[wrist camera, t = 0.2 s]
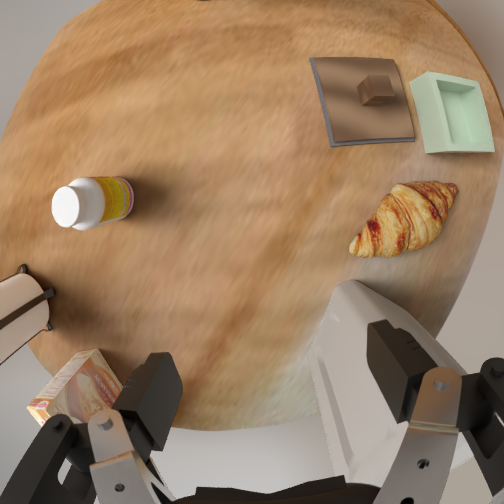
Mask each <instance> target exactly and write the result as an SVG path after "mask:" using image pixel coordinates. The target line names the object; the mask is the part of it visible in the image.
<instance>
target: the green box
mask: <svg viewBox="0 0 504 504" xmlns="http://www.w3.org/2000/svg"><path fill="white" fill-rule="evenodd" d="M409 85H410V88H411V92H412V95H413V99H414V103H415V107H416V111H417V115H418V119H419V123H420V128H421V133H422V138H423V143H424V149H425V154H429V153H484V152H495V149H494V143H493V138H492V132H491V128H490V123H489V118H488V114H487V110H486V106H485V102H484V99H483V95H482V92H481V88H480V85H479V82H477V81H474V80H469V79H465V78H461V77H456V76H451V75H446V74H441V73H435V72H428V71H427V72H425V73H424V74H422V75H420V76H419V77H417V78H415V79H414V80H412V81H410V82H409Z"/></svg>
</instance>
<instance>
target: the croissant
mask: <svg viewBox="0 0 504 504" xmlns="http://www.w3.org/2000/svg"><path fill="white" fill-rule="evenodd" d="M457 193H458V189H457V187H456V185H454V184H453V183H446V184H442V183H439V182H437V181H430V182H412V183H408V184H406V185H404V184H397V185H395V186H393V187H392V189H391V191H390V193H389V194H388V195H386V196H385V197H384V198H383V199H382V200H381V204H380V206H379V207H378V209H377V211H376V213H375V215H372V216H371V217H370V219H369V220H367V222H366V225H365V227H364V228H363V230H362V232H360V233H359V234H357V235H356V237H355V238H354V239H353V241H352V242H351V244H350V246H349V252H350V253H351V254H352V255H358V256H359V257H361V256H364V258H367V257H370V258H372V257H374V256H383V257H388V258H389V257H393V256H394V257H395V256H397V255H400V253H401V252H405V251H412V250H418V249H420V248H423V247H425V246H428V245H429V244H430V243H431V242H432V241H433V240H434V239H435V238H437V236H438V235H439V234H440V232H441V230H442V228H443V226H442V223H443V222H444V221H445V220H446V218H447V213H448V212H447V210H448V209H450V208H451V207H452V205H453V203H454V199H455V196H456V194H457Z"/></svg>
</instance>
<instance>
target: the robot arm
mask: <svg viewBox="0 0 504 504" xmlns="http://www.w3.org/2000/svg"><path fill="white" fill-rule="evenodd" d="M366 357H367V363H368V367H369V369H370V371H371V373H372V375H373V377H374V379H375V381H376V383H377V385H378V387H379V389H380V391H381V393H382V395H383V396H384V398H385V400H386V402H387V404H388V406H389V409H390V411H391V413H392V415H393V417H394V419H395V421H396V423H397V424H399V423H402V422H405V421H407V422H408V424H409V425H408V428H407V430H406V433H405V436H404V438H403V441H402V443H401V446H400V448H399V451H398V453H397V456H396V458H395V460H394V462H393V465H392V467H391V469H390V471H389V473H388V475H387V477H386V479H385V481H384V483H383V485H382V487H378V486H375V485H371V484H365V483H354V482H350V483H346V481H345V476H344V475H340V476H336V477H331V478H326V479H321V480H316V481H309V482H305V483H303V484H300V485H297V486H294V487H291V488H288V489H284V490H281V491H278V492H274V493H271V494H264V493H258V492H251V491H245V490H240V489H234V488H214V487H197V488H196V493H195V495H192V496H187V497H183V498H180V499H176V498H175V497H174V496H173V495H172V493H171V492H170V490H169V489H168V487H167V485H166V483H165V482H164V480H163V478H162V477H161V475H160V473H159V471H158V469H157V467H156V466H155V464H154V462H153V460H152V458H151V457H150V453H151V450H154V451H163V449H164V445H165V443H166V440H167V437H168V434H169V430H170V428H171V425H172V422H173V419H174V416H175V413H176V410H177V407H178V404H179V401H180V398H181V395H182V390H183V387H182V381H181V379H180V376H179V374H178V371H177V369H176V366H175V364H174V361H173V359H172V356H171V354H170V353H168V352H161V353H151V354H150V355H149V357H148V358H147V360H146V362H145V363H144V364H142V365H140V366H139V367H138V368H137V369H136V370H134V371H133V373H132V374H131V376H130V378H129V379H128V381H127V382H126V384H125V386H124V387H125V388H123V389H122V391H121V392H120V394H119V396H118V397H117V399H116V401H115V402H114V404H113V406H112V408H111V409H105V410H101V411H99V412H97V413H95V414H94V415H93V416H92V417H91V418H90V420H89V422H88V423H78V424H74V423H73V421H72V420H71V419H70V417H69V416H68V415H66V414H56V415H54V416H52V417H50V418H49V419H48V420H47V421H46V422H45V424H44V425H43V426H42V428H41V430H40V431H39V433H38V434H37V436H36V437H35V439H34V440H33V442H32V443H31V445H30V447H29V448H28V450H27V451H26V453H25V455H24V456H23V458H22V459H21V461H20V463H19V464H18V466H17V468H16V470H15V471H14V473H13V475H12V476H11V478H10V480H9V482H8V483H7V485H6V487H5V489H4V491H3V493H2V495H1V496H0V504H93V503H94V501H95V498H96V495H97V496H98V499H99V503H100V504H439V502H440V499H441V496H442V494H443V491H444V488H445V485H446V482H447V478H448V475H449V472H450V468H451V464H452V461H453V457H454V453H455V448H456V444H457V439H458V434H459V432H462V434H463V436H464V437H465V439H466V441H467V443H468V445H469V447H470V449H471V451H472V453H473V455H474V457H475V459H476V461H477V463H478V465H479V467H480V469H481V471H482V473H483V475H484V478H485V480H486V482H487V484H488V486H489V489H490V491H491V494H492V496H493V498H492V500H491V502H490V504H504V427H503V425H502V424H501V422H500V420H499V419H498V418H497V416H496V415H495V414H496V413H497V414H498V416H499V417H500V419H501V420H502V422H503V423H504V359H503V358H490V359H488V360H486V361H485V362H484V363H483V365H482V367H481V370H480V372H479V373H474V374H469V375H463V376H460V374H459V373H458V372H457V371H456V370H454V369H452V368H449V367H439V366H438V365H437V364H436V362H435V361H434V360H433V359H432V358H431V357H430V355H429V354H428V353H427V352H426V351H425V349H424V348H423V347H421V345H420V344H419V343H418V341H416V339H415V338H414V337H413V336H412V335H411V333H410V332H408V331H406V330H404V329H402V328H396V329H395V328H394V327H393V326H392V325H391V324H390V322H389V321H388V320H387V319H383V320H379V321H375V322H371V323H369V324H368V326H367V351H366ZM65 458H66V459H67V460H68V461H69V462H70V463H71V464H72V465H71V467H70V469H69V472H68V473H67V476H66V478H65V480H64V482H63V484H62V485H61V484H60V482H59V481H58V472H59V470H60V468H61V466H62V464H63V462H64V460H65Z"/></svg>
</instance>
